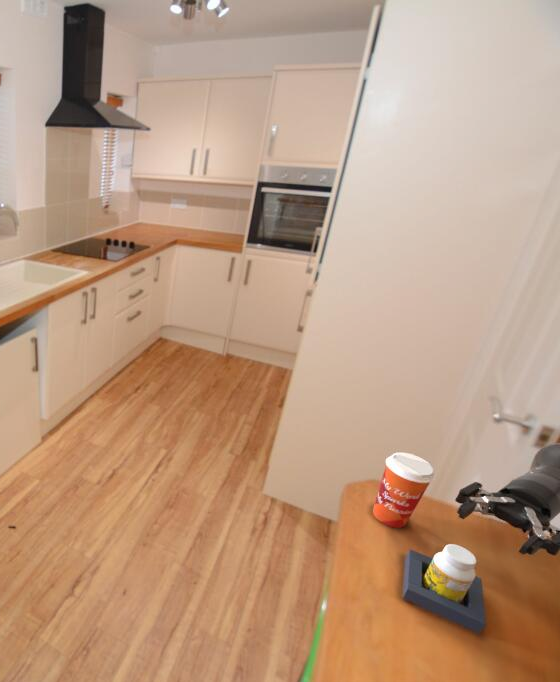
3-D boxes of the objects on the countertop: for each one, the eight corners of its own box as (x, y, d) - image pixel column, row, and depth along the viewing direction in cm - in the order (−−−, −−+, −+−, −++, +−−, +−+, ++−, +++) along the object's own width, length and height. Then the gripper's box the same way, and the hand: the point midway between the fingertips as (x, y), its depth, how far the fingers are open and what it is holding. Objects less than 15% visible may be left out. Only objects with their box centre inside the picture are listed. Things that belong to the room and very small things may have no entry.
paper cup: (361, 515, 94) (382, 462, 88) (373, 497, 98) (394, 445, 92) (406, 539, 89) (432, 483, 82) (417, 518, 93) (442, 465, 87)
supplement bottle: (464, 613, 75) (488, 573, 71) (425, 601, 77) (446, 562, 73) (452, 585, 80) (474, 546, 76) (415, 575, 81) (435, 536, 77)
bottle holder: (475, 588, 79) (481, 578, 78) (479, 634, 72) (486, 624, 71) (405, 558, 85) (409, 548, 84) (402, 598, 77) (407, 588, 76)
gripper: (575, 540, 82) (535, 578, 75) (478, 489, 93) (436, 518, 86) (597, 509, 78) (557, 546, 72) (494, 460, 90) (451, 488, 83)
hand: (491, 531), depth 79 cm, fingers open, 8 cm apart
